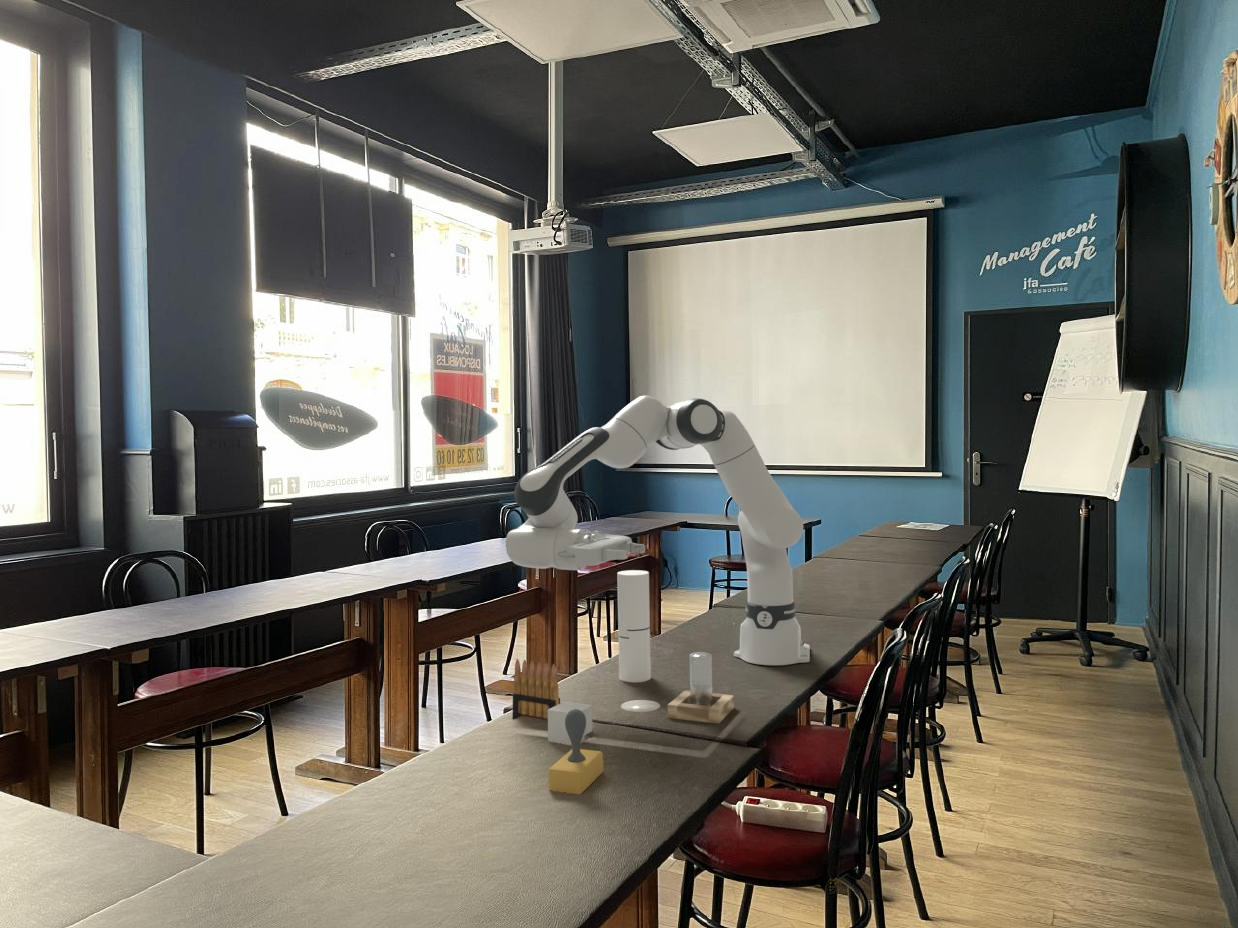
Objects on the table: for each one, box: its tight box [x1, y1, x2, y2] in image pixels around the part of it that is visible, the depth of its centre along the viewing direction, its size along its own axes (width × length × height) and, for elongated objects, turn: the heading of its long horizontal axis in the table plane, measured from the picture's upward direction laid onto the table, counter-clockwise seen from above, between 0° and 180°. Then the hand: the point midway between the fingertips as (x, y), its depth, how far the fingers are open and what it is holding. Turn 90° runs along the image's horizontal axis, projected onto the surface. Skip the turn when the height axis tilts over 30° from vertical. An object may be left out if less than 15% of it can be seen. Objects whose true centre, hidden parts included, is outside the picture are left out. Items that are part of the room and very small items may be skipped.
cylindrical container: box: [616, 569, 652, 683], centre depth 206 cm, size 7×7×25 cm
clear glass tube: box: [689, 651, 713, 706], centre depth 180 cm, size 4×4×12 cm
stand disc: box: [620, 699, 661, 713], centre depth 186 cm, size 8×8×1 cm
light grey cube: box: [547, 700, 593, 747], centre depth 170 cm, size 6×6×6 cm
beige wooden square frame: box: [666, 690, 735, 724], centre depth 180 cm, size 10×10×4 cm
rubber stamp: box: [548, 709, 604, 796], centre depth 149 cm, size 10×6×12 cm, turn 160°
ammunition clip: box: [512, 658, 561, 721], centre depth 180 cm, size 11×2×12 cm, turn 60°
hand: (635, 551), depth 189 cm, fingers open, 8 cm apart
